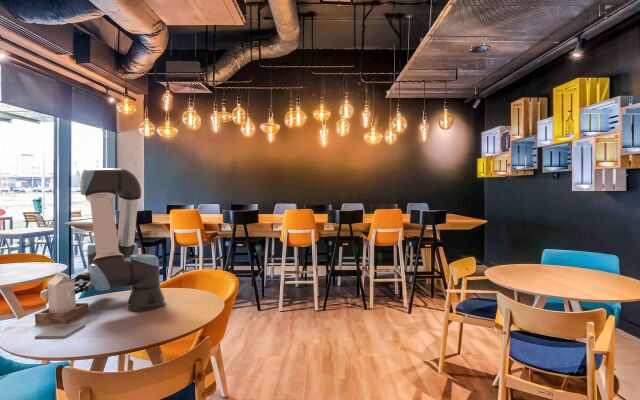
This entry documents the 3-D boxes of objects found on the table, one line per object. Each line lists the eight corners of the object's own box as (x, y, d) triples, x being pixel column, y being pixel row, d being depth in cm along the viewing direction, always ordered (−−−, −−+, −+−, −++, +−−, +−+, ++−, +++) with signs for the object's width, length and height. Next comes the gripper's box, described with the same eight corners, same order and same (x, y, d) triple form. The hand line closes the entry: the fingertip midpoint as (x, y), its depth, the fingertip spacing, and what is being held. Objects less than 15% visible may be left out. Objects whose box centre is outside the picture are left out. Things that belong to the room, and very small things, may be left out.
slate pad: (85, 326, 144) (84, 324, 144) (65, 338, 133) (64, 335, 133) (57, 326, 144) (57, 324, 144) (34, 338, 133) (34, 336, 133)
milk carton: (57, 322, 148) (54, 275, 148) (49, 319, 152) (46, 273, 151) (76, 316, 154) (74, 271, 154) (68, 314, 158) (65, 270, 157)
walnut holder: (88, 312, 160) (88, 303, 160) (67, 323, 147) (67, 313, 147) (59, 312, 160) (58, 303, 160) (35, 324, 147) (34, 314, 147)
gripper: (111, 287, 172) (84, 302, 150) (61, 289, 170) (26, 305, 148) (111, 271, 171) (83, 284, 149) (60, 273, 170) (25, 286, 148)
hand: (55, 294), depth 149 cm, fingers closed on milk carton, 10 cm apart
